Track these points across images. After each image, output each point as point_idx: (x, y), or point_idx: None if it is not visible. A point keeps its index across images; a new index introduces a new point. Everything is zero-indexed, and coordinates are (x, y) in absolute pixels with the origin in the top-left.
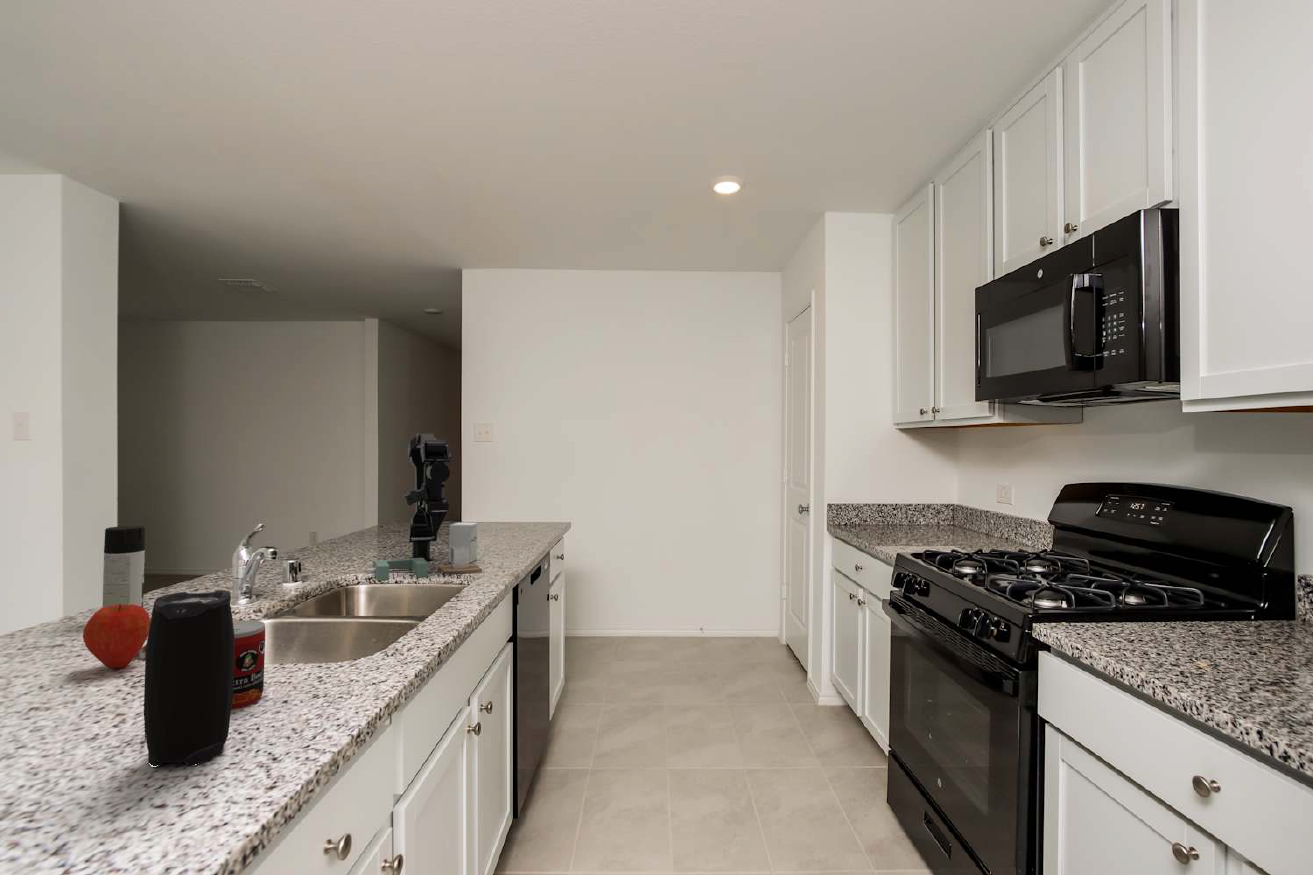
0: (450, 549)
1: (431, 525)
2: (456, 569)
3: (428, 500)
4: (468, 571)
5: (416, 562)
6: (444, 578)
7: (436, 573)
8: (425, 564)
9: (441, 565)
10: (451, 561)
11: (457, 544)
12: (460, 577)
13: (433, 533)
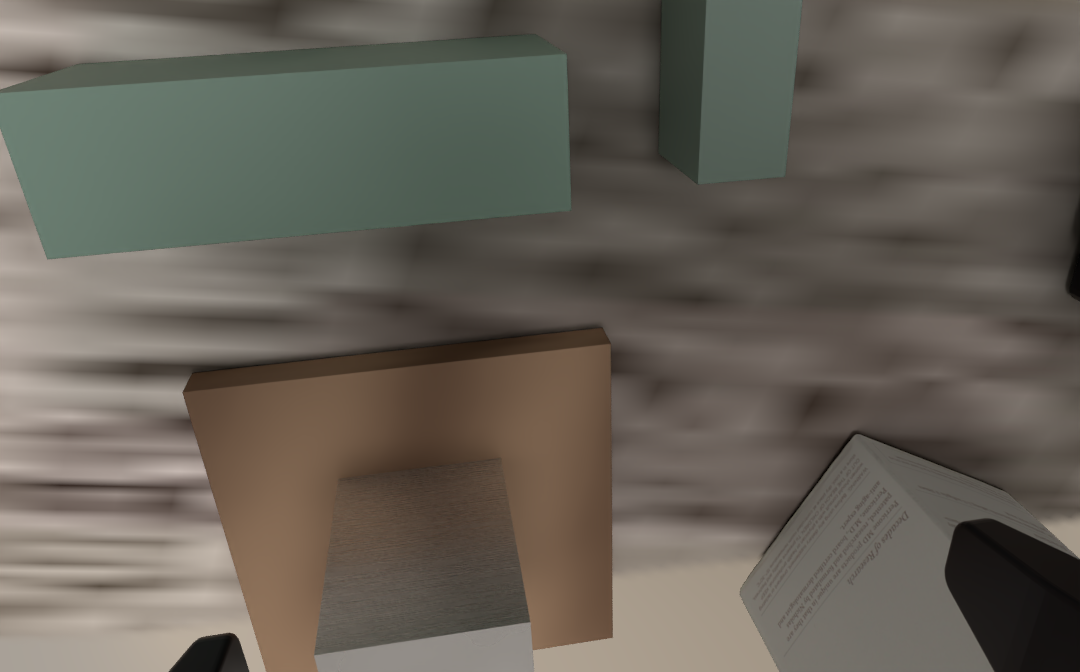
0: (925, 538)
1: (1007, 654)
2: (310, 503)
3: None
4: (245, 587)
5: (141, 91)
6: (5, 367)
7: (329, 301)
8: (44, 217)
9: (594, 377)
10: (463, 502)
11: (910, 646)
12: (48, 508)
13: (205, 637)
